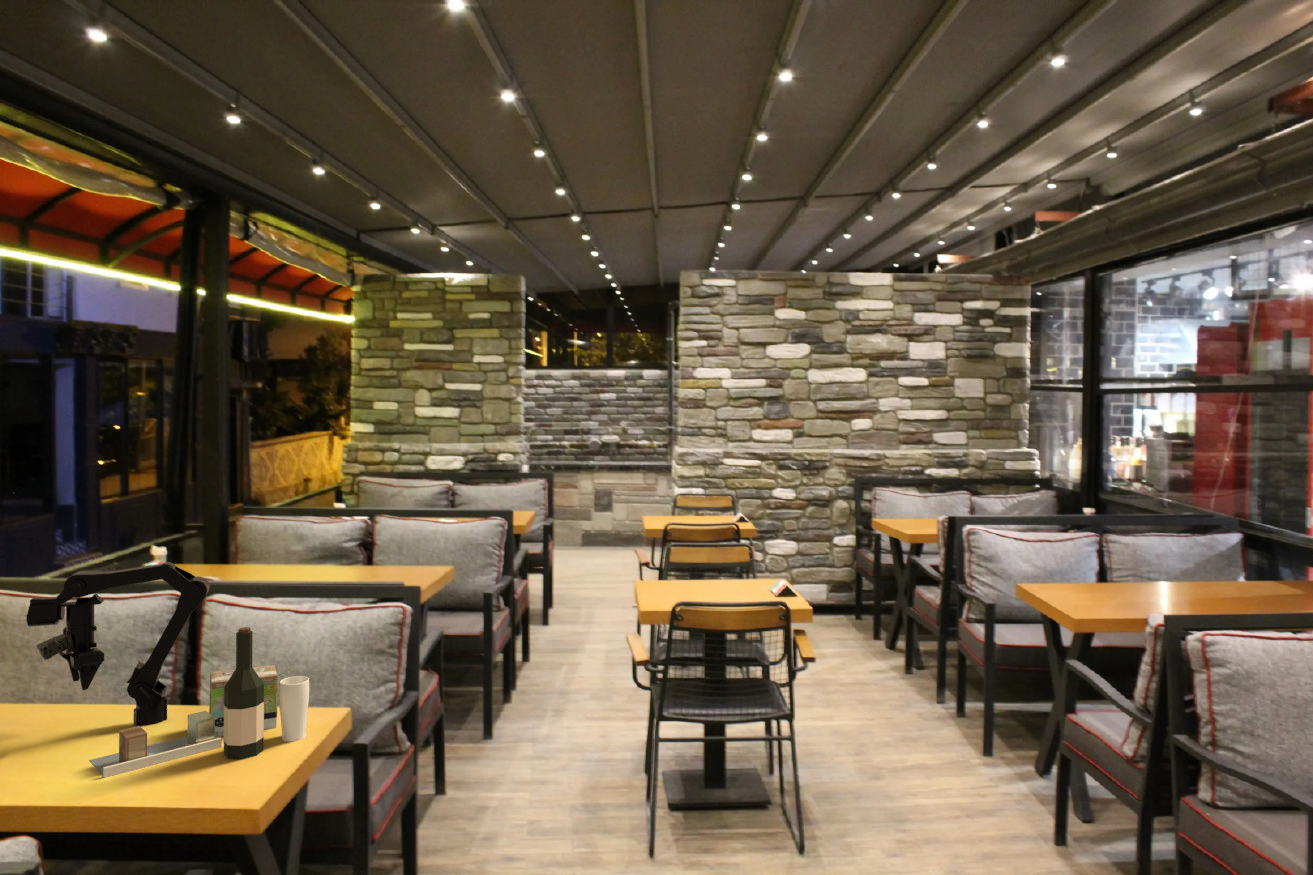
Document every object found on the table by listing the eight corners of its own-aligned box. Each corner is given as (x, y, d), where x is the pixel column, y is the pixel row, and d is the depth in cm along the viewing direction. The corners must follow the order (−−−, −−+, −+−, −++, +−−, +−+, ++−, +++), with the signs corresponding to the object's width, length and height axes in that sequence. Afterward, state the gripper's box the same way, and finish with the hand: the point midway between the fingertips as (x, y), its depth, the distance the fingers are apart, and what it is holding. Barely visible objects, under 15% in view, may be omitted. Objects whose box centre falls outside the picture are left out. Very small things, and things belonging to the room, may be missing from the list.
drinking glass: (315, 737, 200) (315, 677, 200) (294, 748, 194) (295, 685, 193) (293, 734, 202) (293, 674, 202) (272, 744, 196) (272, 682, 196)
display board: (202, 735, 200) (202, 723, 200) (221, 750, 191) (221, 738, 191) (89, 764, 183) (89, 751, 183) (104, 782, 174) (104, 768, 174)
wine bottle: (271, 753, 191) (272, 626, 190) (240, 766, 183) (240, 634, 182) (247, 746, 194) (247, 622, 193) (215, 759, 186) (215, 630, 186)
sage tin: (187, 743, 193) (187, 714, 193) (205, 739, 196) (205, 710, 196) (196, 751, 189) (196, 721, 189) (214, 746, 192) (214, 717, 191)
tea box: (209, 742, 196) (209, 682, 196) (208, 729, 205) (209, 671, 205) (277, 731, 204) (278, 673, 204) (274, 718, 213) (274, 662, 212)
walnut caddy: (119, 761, 183) (119, 730, 183) (139, 756, 186) (139, 725, 185) (126, 769, 178) (126, 737, 178) (147, 764, 181) (147, 733, 181)
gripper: (32, 621, 201) (32, 684, 201) (48, 635, 188) (48, 702, 189) (85, 614, 209) (86, 674, 209) (104, 627, 196) (104, 691, 197)
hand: (80, 685), depth 201 cm, fingers open, 9 cm apart
